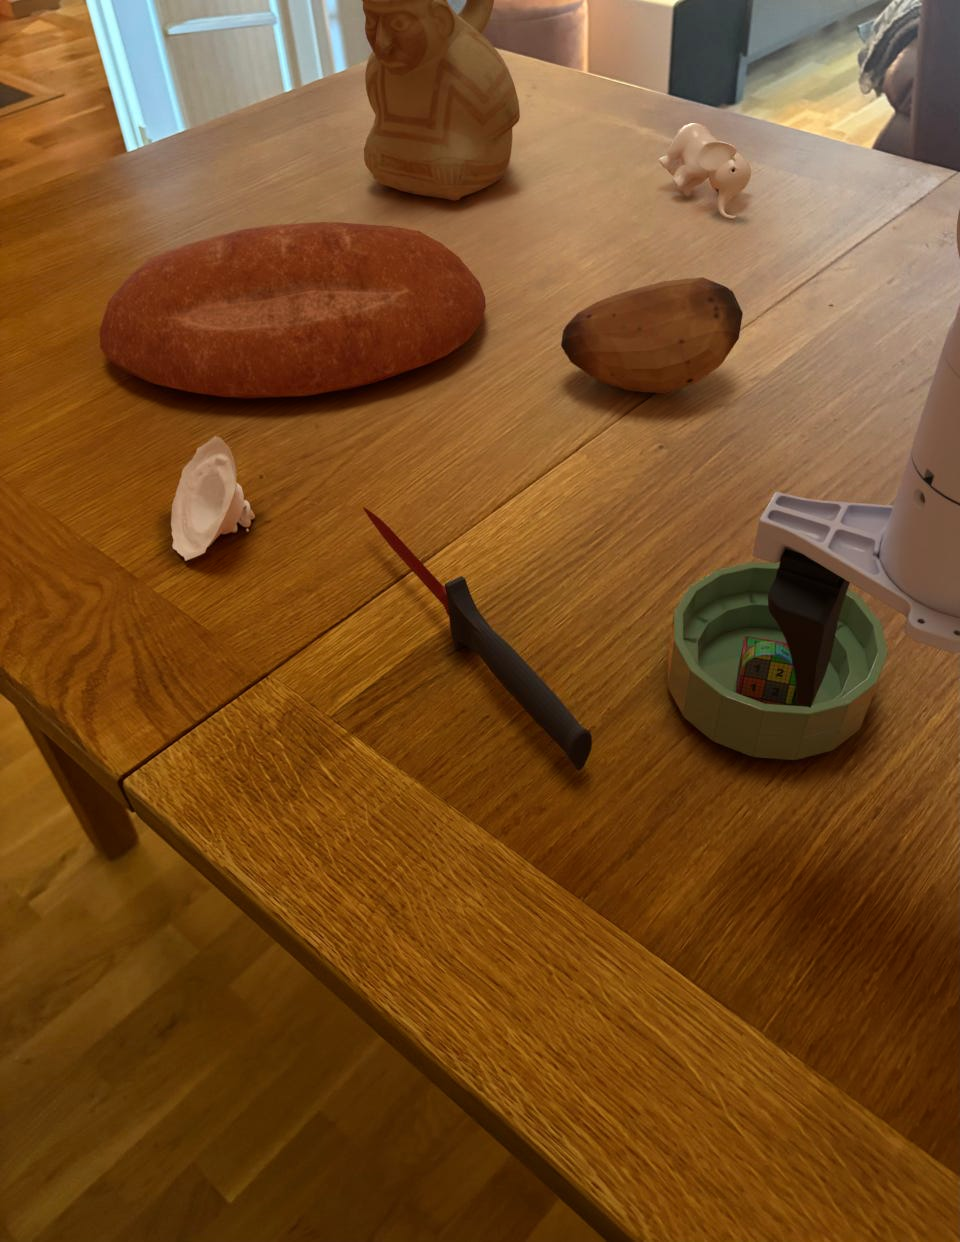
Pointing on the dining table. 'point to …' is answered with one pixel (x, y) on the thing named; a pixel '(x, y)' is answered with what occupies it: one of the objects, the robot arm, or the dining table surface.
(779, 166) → the dining table surface
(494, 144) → the ceramic vessel
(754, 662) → the block
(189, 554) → the seashell
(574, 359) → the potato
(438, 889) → the dining table surface
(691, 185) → the elephant figurine
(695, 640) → the bowl
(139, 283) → the bread
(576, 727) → the knife
